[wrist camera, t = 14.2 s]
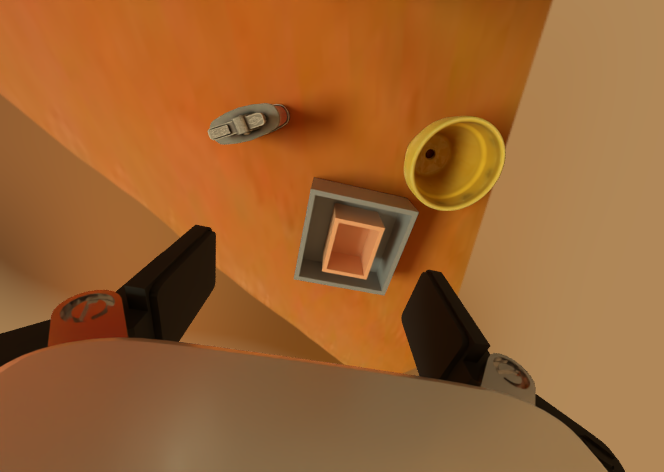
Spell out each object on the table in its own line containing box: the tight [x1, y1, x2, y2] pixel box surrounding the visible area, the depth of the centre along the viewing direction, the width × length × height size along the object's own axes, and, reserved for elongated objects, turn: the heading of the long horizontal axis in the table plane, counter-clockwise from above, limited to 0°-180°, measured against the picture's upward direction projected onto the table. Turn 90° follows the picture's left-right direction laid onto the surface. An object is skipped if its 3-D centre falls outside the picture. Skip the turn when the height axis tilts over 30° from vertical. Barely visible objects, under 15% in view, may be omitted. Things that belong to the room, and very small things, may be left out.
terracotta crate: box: [322, 203, 385, 279], centre depth 38 cm, size 9×7×6 cm
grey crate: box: [294, 177, 419, 295], centre depth 39 cm, size 15×15×6 cm
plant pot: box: [404, 116, 506, 211], centre depth 31 cm, size 10×10×10 cm
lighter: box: [208, 103, 290, 144], centre depth 29 cm, size 8×3×10 cm, turn 106°
